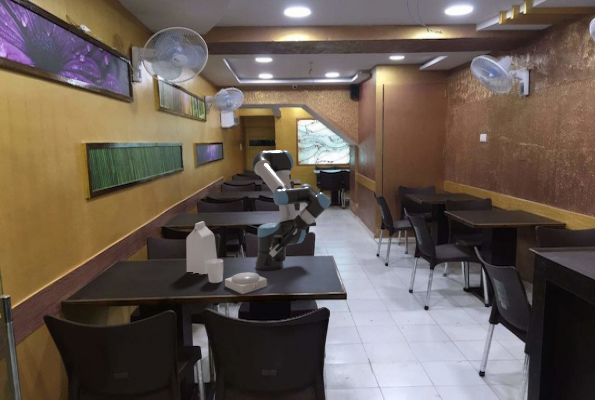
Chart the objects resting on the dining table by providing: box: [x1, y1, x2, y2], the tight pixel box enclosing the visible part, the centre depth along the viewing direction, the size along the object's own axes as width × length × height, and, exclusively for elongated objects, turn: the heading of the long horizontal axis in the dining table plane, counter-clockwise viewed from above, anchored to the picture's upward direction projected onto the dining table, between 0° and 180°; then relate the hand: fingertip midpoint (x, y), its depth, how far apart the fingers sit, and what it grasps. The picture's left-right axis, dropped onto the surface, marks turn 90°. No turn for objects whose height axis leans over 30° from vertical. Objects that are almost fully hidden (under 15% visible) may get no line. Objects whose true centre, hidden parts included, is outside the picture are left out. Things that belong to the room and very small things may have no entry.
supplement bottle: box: [271, 235, 287, 262], centre depth 198 cm, size 7×7×12 cm
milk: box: [185, 220, 218, 275], centre depth 216 cm, size 12×12×26 cm
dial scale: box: [224, 271, 268, 295], centre depth 192 cm, size 15×14×5 cm
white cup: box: [207, 258, 224, 284], centre depth 200 cm, size 8×8×10 cm
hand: (271, 252), depth 198 cm, fingers closed on supplement bottle, 7 cm apart
